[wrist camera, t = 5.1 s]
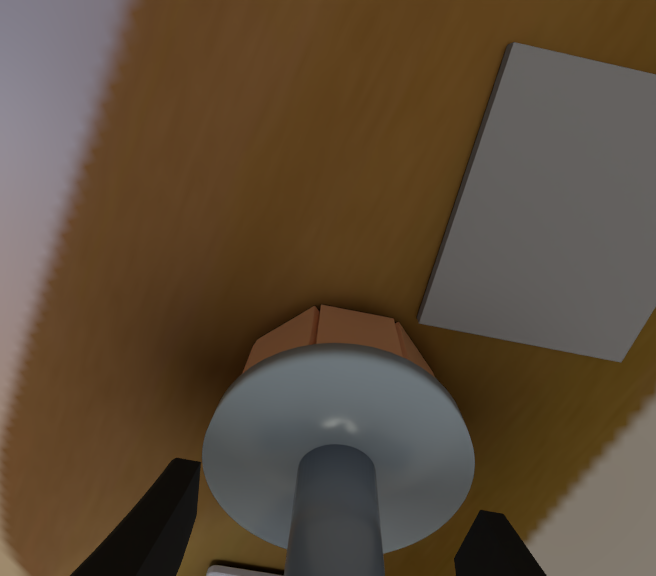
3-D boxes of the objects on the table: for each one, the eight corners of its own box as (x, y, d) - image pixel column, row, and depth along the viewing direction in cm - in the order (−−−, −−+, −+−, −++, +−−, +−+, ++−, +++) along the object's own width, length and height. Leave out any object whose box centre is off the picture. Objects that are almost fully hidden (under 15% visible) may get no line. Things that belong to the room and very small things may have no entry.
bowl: (400, 466, 16) (411, 539, 13) (240, 437, 16) (218, 507, 13) (452, 329, 13) (480, 386, 10) (260, 292, 13) (238, 340, 10)
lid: (416, 551, 13) (443, 714, 10) (198, 508, 13) (141, 663, 9) (510, 378, 10) (601, 523, 7) (228, 313, 10) (160, 431, 6)
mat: (613, 355, 13) (621, 362, 13) (416, 317, 13) (418, 323, 13) (765, 103, 10) (781, 103, 10) (507, 45, 10) (514, 42, 9)
